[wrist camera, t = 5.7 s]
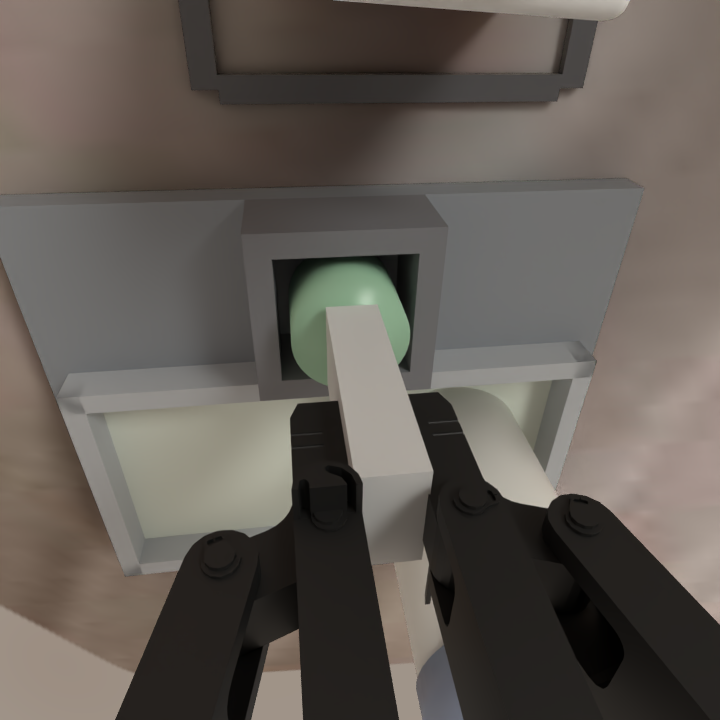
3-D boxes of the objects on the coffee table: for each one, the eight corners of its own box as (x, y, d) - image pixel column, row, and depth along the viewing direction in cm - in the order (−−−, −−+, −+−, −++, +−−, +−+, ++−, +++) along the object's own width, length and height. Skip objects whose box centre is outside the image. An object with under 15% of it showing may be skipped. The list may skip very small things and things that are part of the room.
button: (285, 247, 18) (287, 290, 15) (394, 242, 18) (414, 284, 16) (291, 341, 20) (294, 392, 17) (389, 335, 20) (406, 384, 18)
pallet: (-4, 194, 18) (-69, 245, 14) (626, 178, 20) (698, 217, 17) (125, 543, 28) (104, 621, 25) (532, 502, 31) (565, 567, 27)
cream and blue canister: (372, 391, 23) (445, 698, 13) (531, 380, 24) (713, 663, 14) (368, 502, 27) (421, 802, 17) (504, 490, 28) (630, 770, 18)
